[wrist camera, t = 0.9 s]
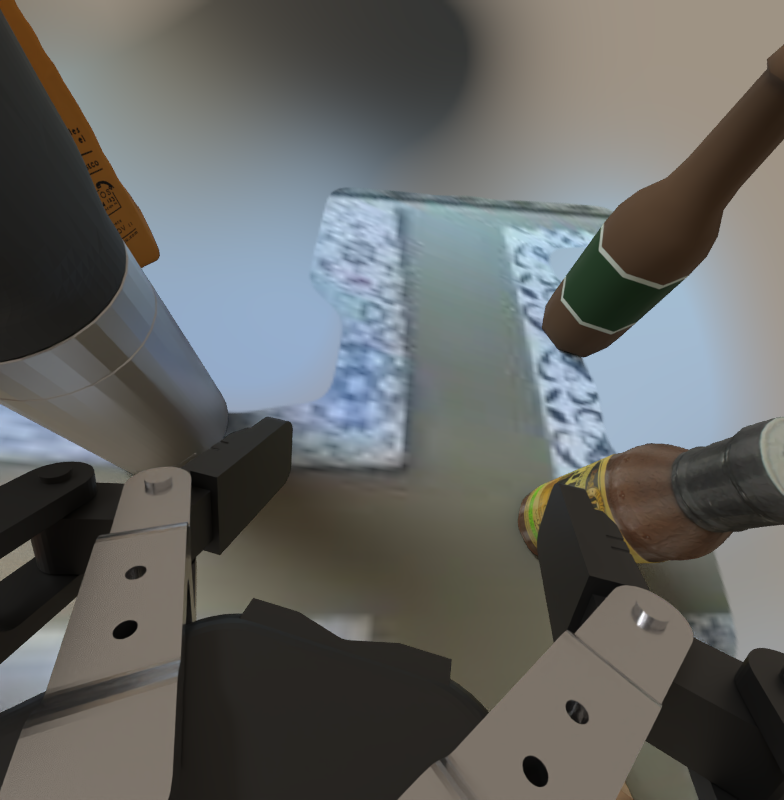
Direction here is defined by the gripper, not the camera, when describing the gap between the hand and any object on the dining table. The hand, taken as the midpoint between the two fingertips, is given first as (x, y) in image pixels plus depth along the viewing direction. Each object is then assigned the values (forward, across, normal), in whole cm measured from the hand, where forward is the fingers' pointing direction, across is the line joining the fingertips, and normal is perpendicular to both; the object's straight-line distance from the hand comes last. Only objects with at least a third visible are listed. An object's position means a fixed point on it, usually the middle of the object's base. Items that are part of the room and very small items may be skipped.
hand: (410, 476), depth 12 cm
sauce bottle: (+19, -10, +13) cm, 25 cm away
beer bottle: (+35, -11, -1) cm, 37 cm away
